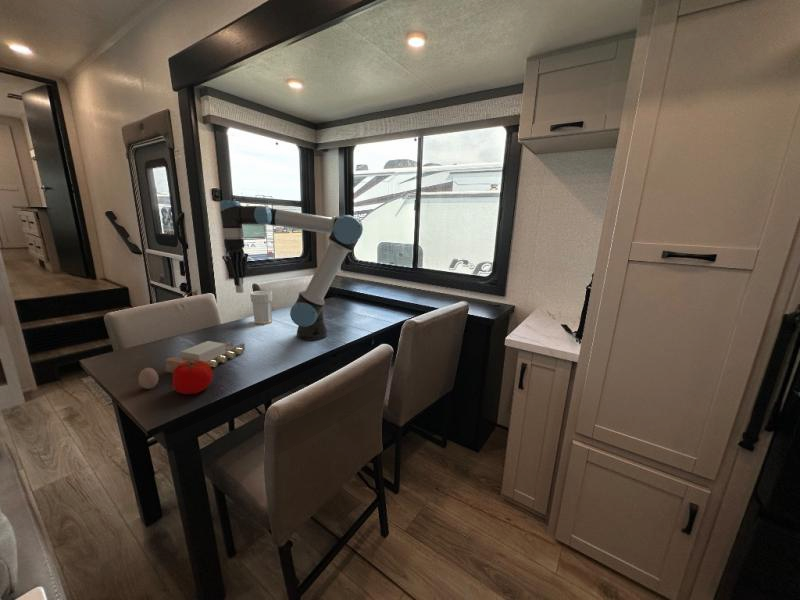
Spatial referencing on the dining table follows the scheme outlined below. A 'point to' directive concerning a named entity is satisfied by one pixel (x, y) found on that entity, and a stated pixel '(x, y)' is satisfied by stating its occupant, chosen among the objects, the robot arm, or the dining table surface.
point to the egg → (148, 378)
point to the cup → (262, 307)
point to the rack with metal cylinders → (230, 353)
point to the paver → (204, 351)
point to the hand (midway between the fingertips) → (239, 292)
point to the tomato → (192, 377)
